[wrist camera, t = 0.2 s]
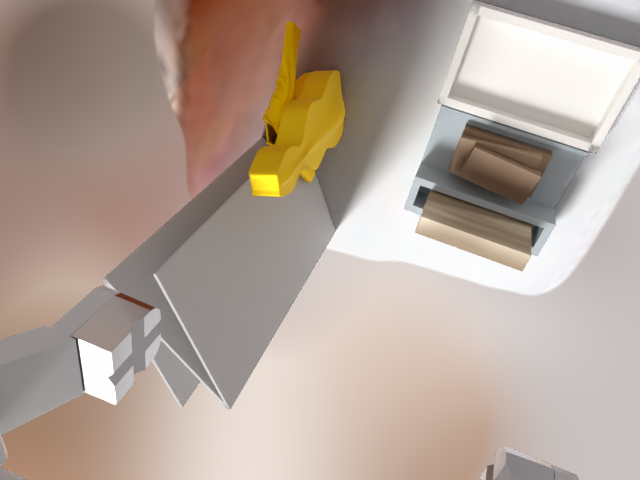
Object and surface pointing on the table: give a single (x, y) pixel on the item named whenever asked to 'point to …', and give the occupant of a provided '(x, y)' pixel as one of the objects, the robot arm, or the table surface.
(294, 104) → the figure statuette
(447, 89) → the tray
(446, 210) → the maple sheet
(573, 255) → the table surface
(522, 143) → the offcut
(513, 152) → the offcut
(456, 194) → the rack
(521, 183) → the offcut
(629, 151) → the table surface
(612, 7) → the table surface
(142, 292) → the grey tall block
